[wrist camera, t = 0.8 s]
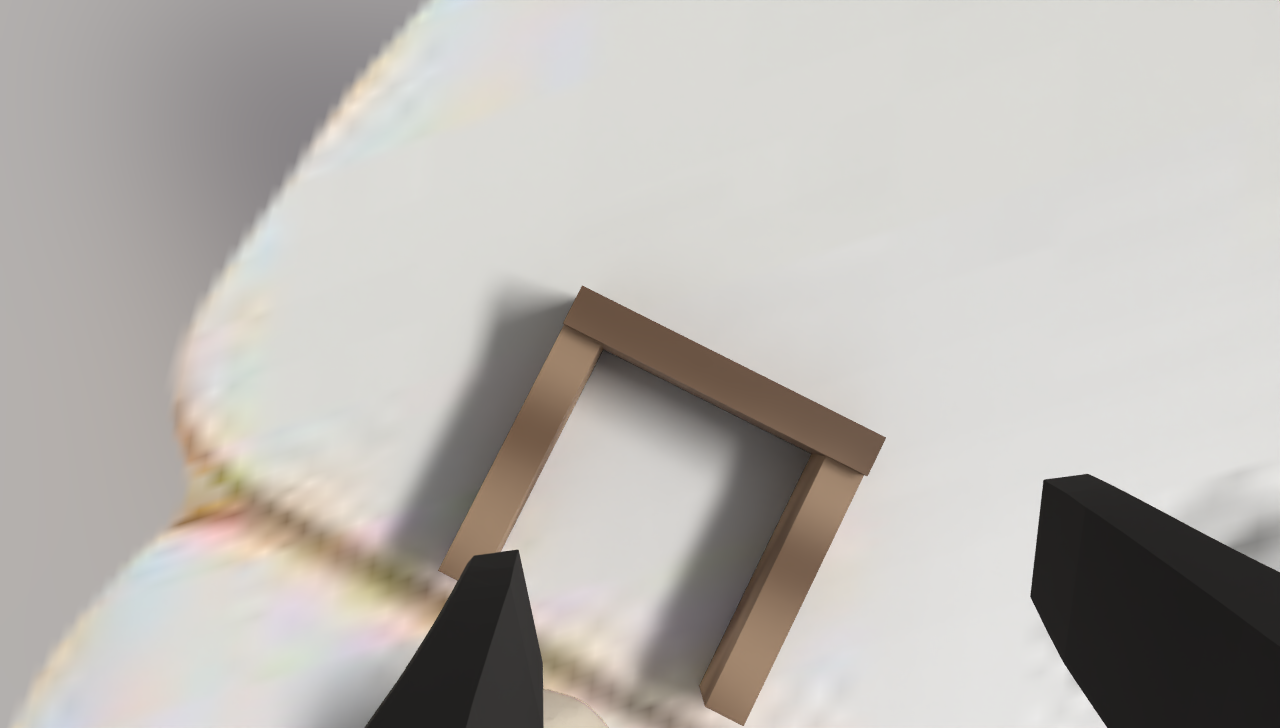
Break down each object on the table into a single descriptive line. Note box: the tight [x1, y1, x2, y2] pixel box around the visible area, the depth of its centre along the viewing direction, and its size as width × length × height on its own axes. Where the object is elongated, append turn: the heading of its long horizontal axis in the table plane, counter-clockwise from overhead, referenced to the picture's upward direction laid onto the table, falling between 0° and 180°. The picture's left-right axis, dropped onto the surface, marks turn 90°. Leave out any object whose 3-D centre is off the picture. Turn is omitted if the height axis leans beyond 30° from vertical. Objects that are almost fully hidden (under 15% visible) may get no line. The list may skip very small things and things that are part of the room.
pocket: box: [438, 286, 886, 726], centre depth 32 cm, size 11×12×3 cm
